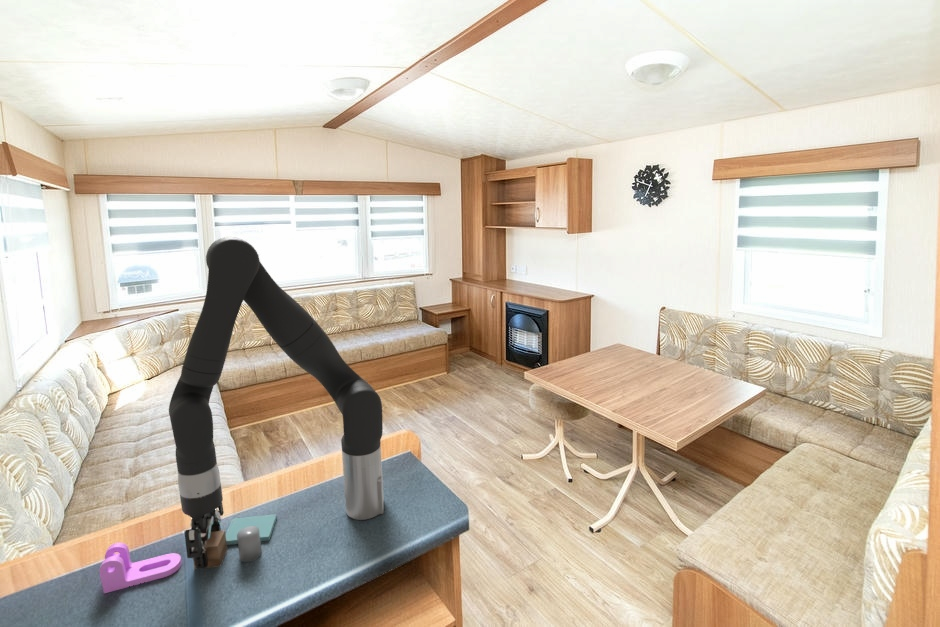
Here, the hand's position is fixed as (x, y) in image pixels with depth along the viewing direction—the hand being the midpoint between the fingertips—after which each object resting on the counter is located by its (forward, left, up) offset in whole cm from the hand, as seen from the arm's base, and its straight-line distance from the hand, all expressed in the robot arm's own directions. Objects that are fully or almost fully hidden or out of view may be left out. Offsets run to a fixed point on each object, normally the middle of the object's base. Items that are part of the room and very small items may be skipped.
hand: (209, 552), depth 103 cm
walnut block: (0, 0, -2) cm, 2 cm away
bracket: (+12, +2, -2) cm, 12 cm away
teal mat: (-6, -8, -2) cm, 10 cm away
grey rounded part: (-8, 0, -2) cm, 8 cm away
